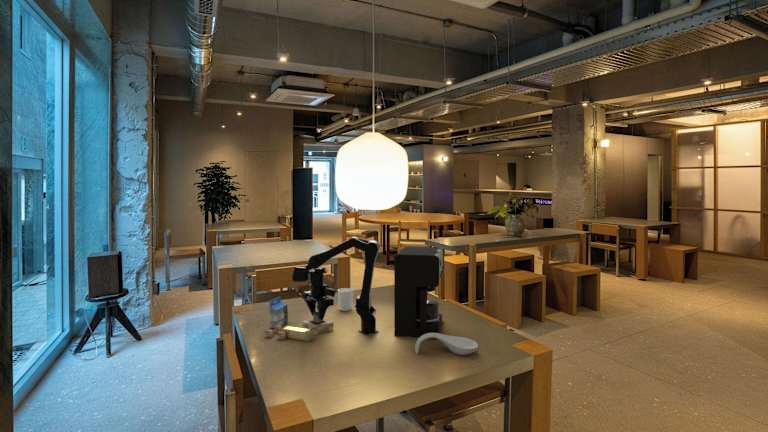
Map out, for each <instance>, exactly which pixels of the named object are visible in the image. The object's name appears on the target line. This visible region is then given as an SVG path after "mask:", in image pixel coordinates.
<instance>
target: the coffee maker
mask: <svg viewBox="0 0 768 432" xmlns="http://www.w3.org/2000/svg"><path fill="white" fill-rule="evenodd" d="M443 253H444V252H443V248H441V247H438V246H437V247H436V246H404V247H403V248H402V249H401V250H400V251H399V252H397V253H396V254H395V255H394V256H393V259H394V263H393V264H394V266H393V267H394V274H393V275H394V282H393V283H394V286H393V287H394V291H393V292H394V293H393V295H394V303H393V304H394V309H393V310H394V314H393V315H394V323H393V324H394V326H393V327H394V331H393V332H394V334H393V335H394V337H399V338H400V337H402V338H415V339H418V338H419V337H421V336H422V335H424V334H427V333H440V334H441V330H442V329H441V328H442V324H443V314H442V313H440V304H439V301H438V300H436V299H431V298H428V293H430V292H431V293H432V292H435V291H436V290H437V289H436V288H438V287H439V286H440V283H441V279H442V276H443V273H444V272H443V271H444V269H445V266H443V264H444V262H443V259H444V257H443V255H444V254H443ZM429 339H430V340H438V339H437V338H428V340H429Z"/></svg>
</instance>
